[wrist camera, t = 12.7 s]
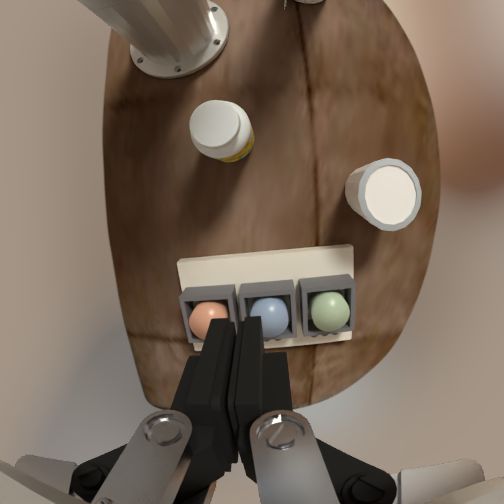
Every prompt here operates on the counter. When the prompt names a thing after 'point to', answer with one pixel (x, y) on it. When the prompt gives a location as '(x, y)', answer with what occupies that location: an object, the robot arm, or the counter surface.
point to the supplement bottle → (221, 130)
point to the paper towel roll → (306, 2)
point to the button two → (271, 314)
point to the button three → (328, 310)
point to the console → (272, 288)
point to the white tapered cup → (384, 193)
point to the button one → (207, 315)
